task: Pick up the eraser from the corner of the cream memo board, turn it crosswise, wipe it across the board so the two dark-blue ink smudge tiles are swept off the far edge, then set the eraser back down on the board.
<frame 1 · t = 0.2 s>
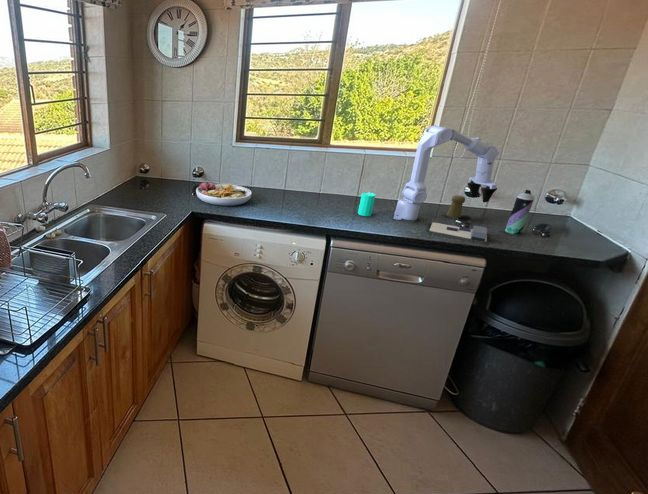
hand: (479, 199, 190), 10 cm above the worktop, tool pointing down, fingers open, 7 cm apart
smudge right: (464, 229, 178), point 1 cm above the worktop, touching memo board
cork: (452, 217, 197), on the worktop
candle: (364, 214, 201), on the worktop
smudge left: (452, 229, 179), point 1 cm above the worktop, touching memo board
bowl: (222, 199, 223), on the worktop
eraser: (477, 237, 170), point 1 cm above the worktop, touching memo board
memo board: (457, 233, 177), on the worktop
spray can: (512, 234, 177), on the worktop
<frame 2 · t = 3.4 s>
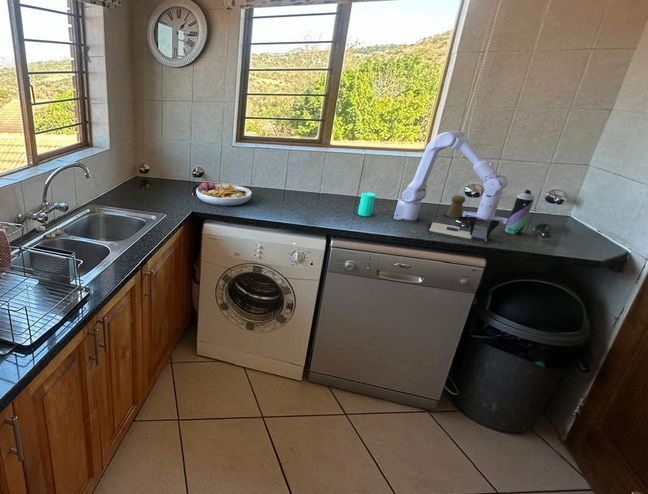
hand: (478, 235, 170), 2 cm above the worktop, tool pointing down, fingers closed on eraser, 4 cm apart
eraser: (477, 237, 170), point 1 cm above the worktop, touching gripper, memo board
everything else where it was.
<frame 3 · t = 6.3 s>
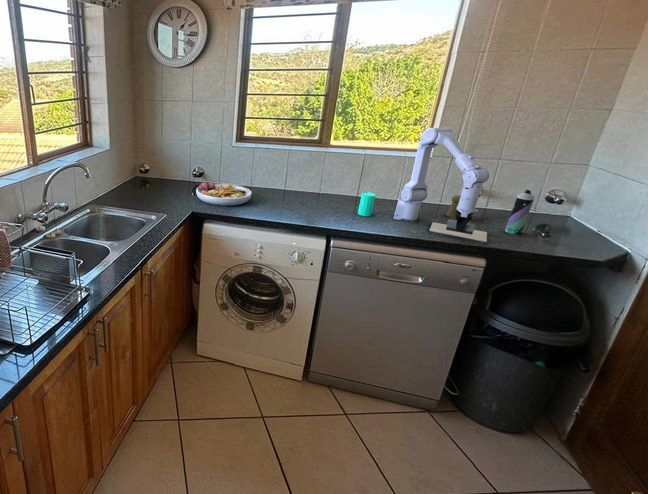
hand: (459, 229, 169), 5 cm above the worktop, tool pointing down, fingers closed on eraser, 4 cm apart
eraser: (459, 230, 169), point 4 cm above the worktop, touching gripper
everything else where it was.
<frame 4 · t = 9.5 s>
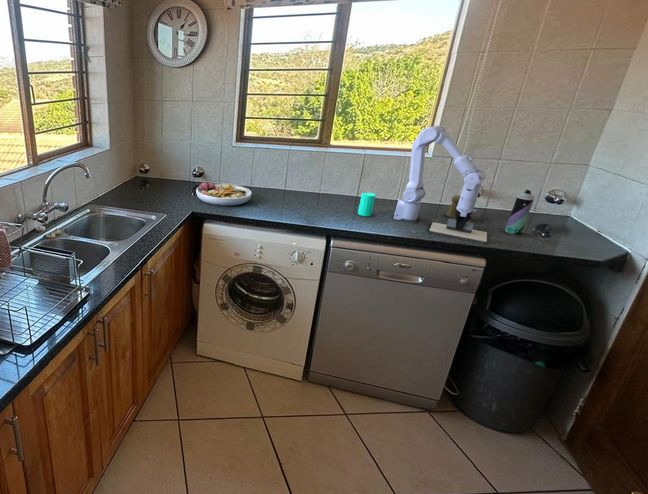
hand: (458, 227, 178), 2 cm above the worktop, tool pointing down, fingers closed on eraser, 4 cm apart
smudge right: (464, 228, 180), point 1 cm above the worktop, touching memo board
smudge left: (453, 226, 182), point 1 cm above the worktop, touching memo board
eraser: (458, 229, 178), point 1 cm above the worktop, touching gripper
everything else where it was.
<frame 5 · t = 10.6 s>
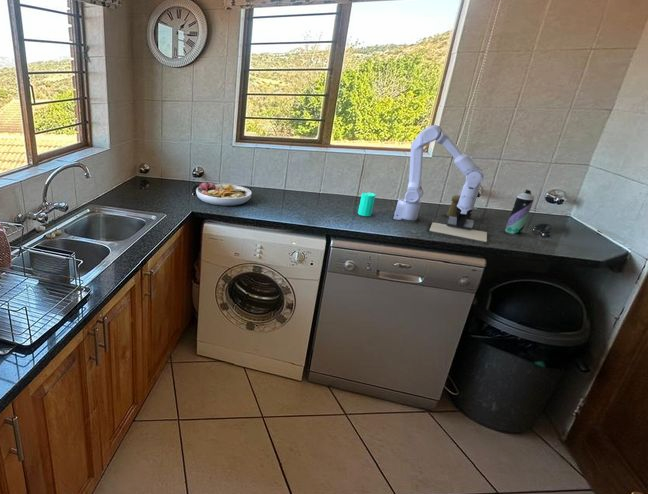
hand: (459, 225, 181), 2 cm above the worktop, tool pointing down, fingers closed on eraser, 4 cm apart
smudge right: (464, 229, 182), on the worktop
smudge left: (453, 227, 184), on the worktop
eraser: (459, 226, 181), point 1 cm above the worktop, touching gripper
everything else where it was.
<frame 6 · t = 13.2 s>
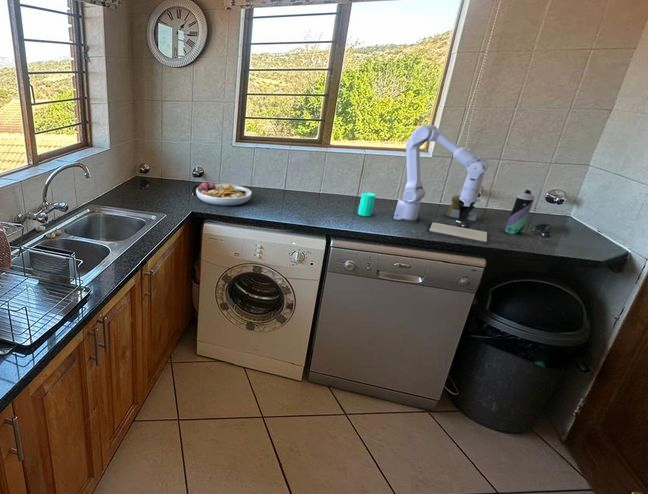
hand: (462, 218, 177), 6 cm above the worktop, tool pointing down, fingers closed on eraser, 4 cm apart
eraser: (461, 219, 177), point 6 cm above the worktop, touching gripper
everything else where it was.
when the fingers open (2 cm above the worktop, at t = 15.2 s): eraser stays where it is, resting on memo board.
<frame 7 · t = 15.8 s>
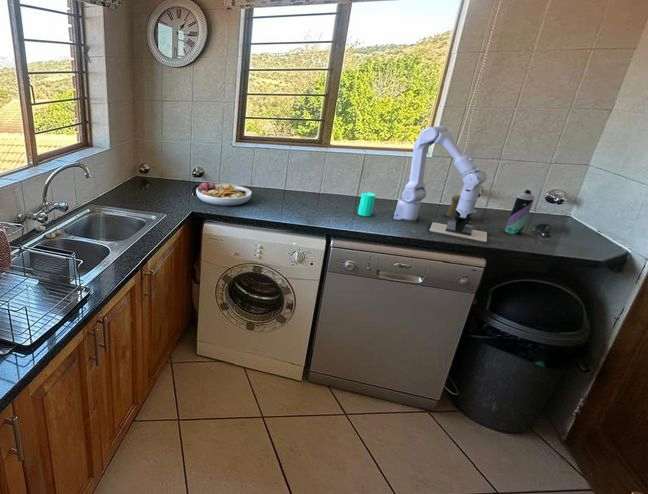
hand: (458, 229, 175), 2 cm above the worktop, tool pointing down, fingers open, 7 cm apart
eraser: (458, 232, 176), point 1 cm above the worktop, touching memo board
everything else where it was.
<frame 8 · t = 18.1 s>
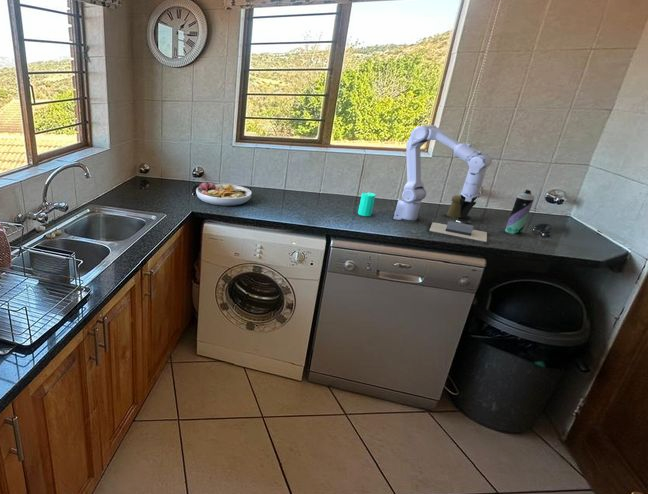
hand: (463, 213, 173), 9 cm above the worktop, tool pointing down, fingers open, 7 cm apart
nothing on the worktop moved.
at the end: smudge left inside the target area (9.0 cm from its centre), on the worktop; smudge right inside the target area (9.0 cm from its centre), on the worktop; eraser inside the target area (1.0 cm from its centre), point 1.0 cm above the worktop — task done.
